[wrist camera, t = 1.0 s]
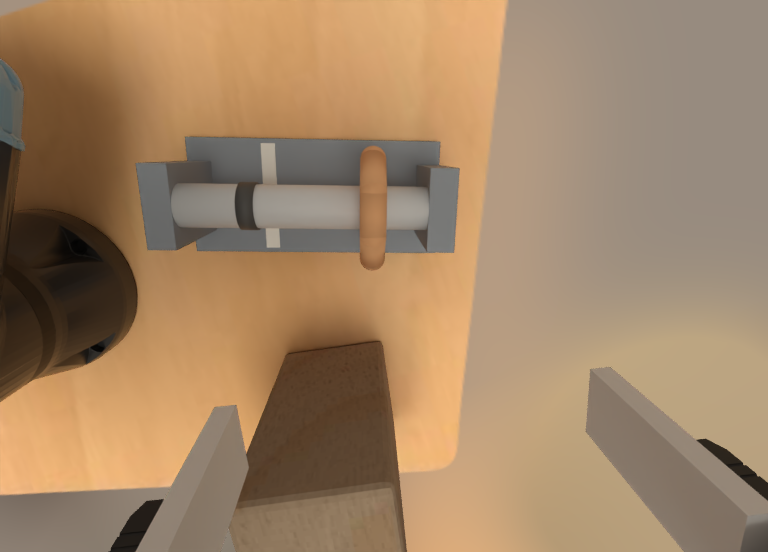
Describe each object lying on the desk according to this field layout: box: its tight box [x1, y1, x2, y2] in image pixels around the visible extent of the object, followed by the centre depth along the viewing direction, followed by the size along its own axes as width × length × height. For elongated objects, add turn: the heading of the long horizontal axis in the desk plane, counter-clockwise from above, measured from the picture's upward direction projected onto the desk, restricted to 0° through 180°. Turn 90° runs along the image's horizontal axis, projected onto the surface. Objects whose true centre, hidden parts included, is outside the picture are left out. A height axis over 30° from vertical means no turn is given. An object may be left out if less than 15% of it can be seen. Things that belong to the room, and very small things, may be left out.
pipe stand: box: [136, 137, 460, 253], centre depth 34 cm, size 22×10×10 cm, turn 89°
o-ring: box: [360, 146, 387, 270], centre depth 32 cm, size 2×9×9 cm, turn 179°
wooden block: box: [229, 342, 407, 552], centre depth 35 cm, size 10×10×20 cm
